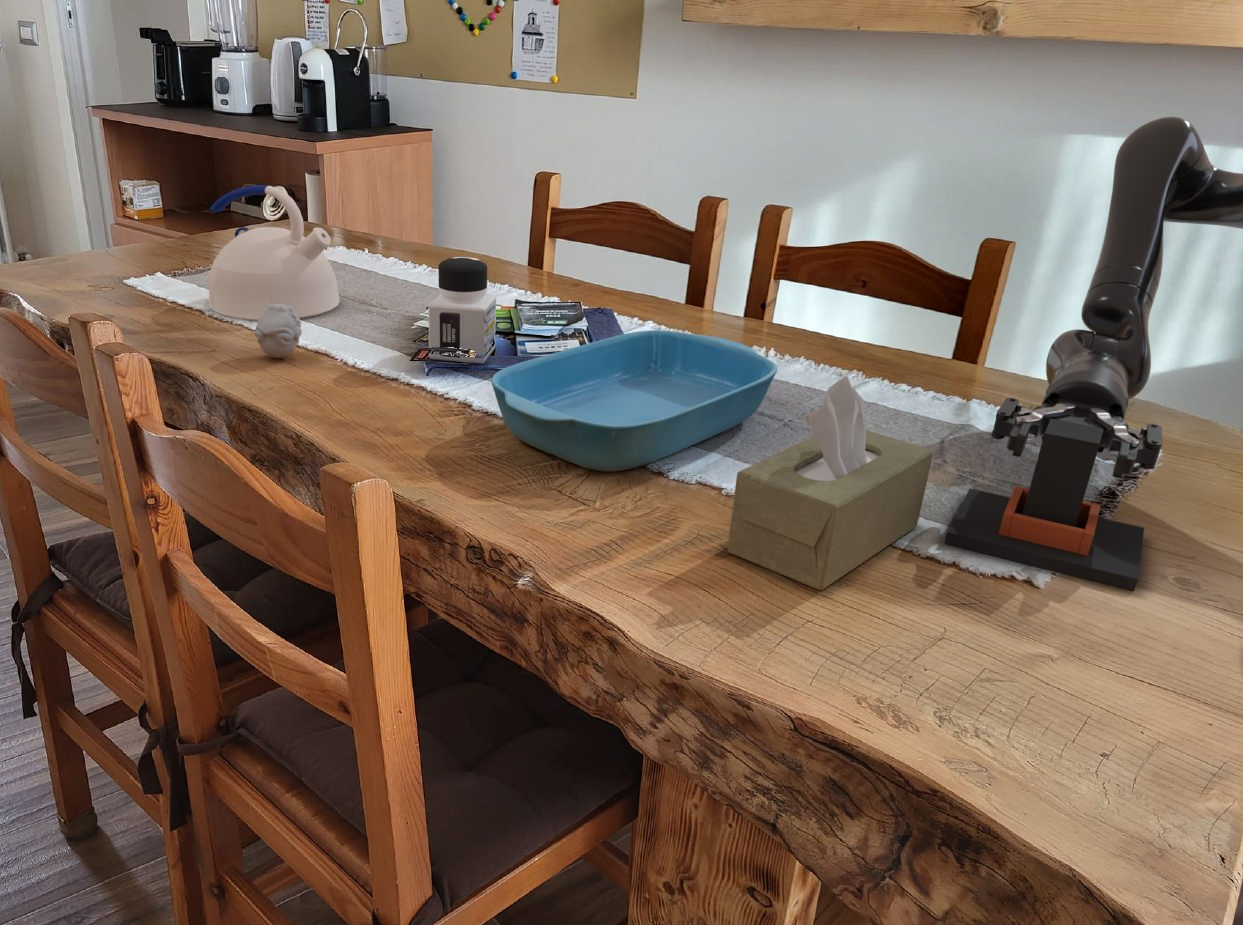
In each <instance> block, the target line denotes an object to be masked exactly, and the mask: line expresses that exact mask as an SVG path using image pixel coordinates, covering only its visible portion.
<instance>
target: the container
mask: <svg viewBox="0 0 1243 925" xmlns="http://www.w3.org/2000/svg"><path fill="white" fill-rule="evenodd" d="M437 267H438V271H437V272H438V293H439V294H438V295H437V297H435V298H434V299H433V300H432V301H431V302H430V303H429V304H428V309H427V310H428V349H429V348H432V347H454V348H457V349H459V348H462V349H471V350H473V351H475V352H477V353H478V354H482V355H484V354H486V353H487V352H488V351H489V349H490V348H491V346H492V344H493V340H494V335H495V336H496V334H495V333H497V332H496V309H497V296H496V295H495V294H490V293H489V294H488V264H486V262H485V261H482V260H480V259H479V258H475V257H469V256H455V257H449V258H446V259H444V260H441V261H440V263H439V264H438V266H437ZM495 349H496V343H495V344H494V346H493V347H492V348H491V350H490V351H489V352H488V353H487V355H486V356H485V357H484V358H474V357H463V356H451V355H440V354H430V353H429V352H428V358H429V359H430V360H435V361H436V360H437V361H446V362H457V363H468V364H480V365H484V363H485V362H486V361H487V359H488V358H489V357H490V355H491V354H492V353H493V351H495Z"/></svg>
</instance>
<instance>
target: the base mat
mask: <svg viewBox="0 0 1243 925" xmlns="http://www.w3.org/2000/svg"><path fill="white" fill-rule="evenodd" d="M1029 489H1030V488H1028V487H1023V486H1019V485H1015V486H1014V488H1013V491H1012V493H1011V495H1010V496H1005V495H1001V494H997V493H994V492H989V491H984V490H979V489H975V488H969V489H968V491H967V493H966V494H965V496H964V499H963V501H962V502H961V504H960V507H959V508H958V511H957V513H956V514H955V516H954V518H953V520H952V522H951V524H950V526H949V528H948V529H947V532H946V536H945V540H944V544H945V545H949V546H953V547H957V548H962V549H965V550H969V551H973V552H977V553H981V554H985V555H989V556H992V557H996V558H1000V559H1001V558H1002V559H1005V560H1009V561H1013V562H1017V563H1020V564H1025V565H1028V566H1033V567H1037V568H1041V569H1046V570H1049V571H1053V572H1056V573H1061V574H1065V575H1068V576H1073V577H1076V578H1077V577H1078V578H1081V579H1085V580H1088V581H1094V582H1096V583H1101V584H1104V585H1108V586H1109V585H1110V586H1113V587H1117V588H1120V589H1125V590H1128V591H1132V592H1134V591H1135V590H1136V587H1137V584H1138V582H1139V575H1140V569H1141V568H1140V567H1141V559H1142V551H1143V543H1144V534H1145V527H1143V526H1139V525H1134V524H1130V523H1126V522H1121V521H1117V520H1112V519H1108V518H1105V517H1103V518H1102V517H1099V514H1100V510H1101V504H1100V503H1096V502H1091V501H1086V500H1083V502H1082V505H1081V509H1080V512H1079V515H1078V519H1077V522H1076V526H1075V527H1072V526H1068V525H1064V524H1060V523H1055V522H1051V521H1047V520H1042V519H1038V518H1034V517H1029V516H1025V515H1022V514H1023V511H1024V507H1025V503H1026V500H1027V496H1028V492H1029Z"/></svg>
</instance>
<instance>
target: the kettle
mask: <svg viewBox="0 0 1243 925" xmlns="http://www.w3.org/2000/svg"><path fill="white" fill-rule="evenodd" d="M252 195H269V196H271V197H274V198H275V199H276V200H277V201H278V202H280V203H281V204H282V206H283V207H284V208H285V210H286V213H287V214H288V217H289V218H288V219H289V221H290V229H287V228H283V227H277V226H261V227H255V228H253V229H249V228H247V227H245V226H242V227H238V228H237V229H236V230H235V232H234V238H233V239H232V240H230V241H229V242H228V243H227V244H225V245H224V246H223V247H222V248H221V250H220V251H219V252H218V254H217V256H216V257H215V259H214V260H213V262H212V265H211V269H210V272H209V275H208V308H210V309H211V310H212V311H213V312H214V313H216V314H218V315H221V316H224V317H227V318H233V319H237V320H245V321H254V322H258V319H259V318H260V317H261V316H262V315H263V313H264V312H265V311H266V310H267V306H268V305H272V304H284V305H286V306H292V307H293V309H294V312H295V313H296V314H297V316H298V317H299V319H300V320H302V319H307V318H312V317H317V316H321V315H325V314H327V313H329V312H331V311H333V310H334V309H336V308H337V307H338V306H339V304H340V302H341V300H340V297H339V296H340V294H339V289H338V288H339V287H338V280H337V276H336V273H335V271H334V270H333V267H332V265H331V263H330V261H329V259H328V257H327V256H326V254H324V251H325V249H326V248H329V247H330V246H331V243H332V239H331V236H330V235H329V233H328V232H327V231H326V230H325V229H324V228H323V227H314V228H313V229H312V231H311V232H310V233H309V234H308V235H307V236H304V232H305V228H304V227H305V226H304V219H303V216H302V213H301V210H300V207H299V206H298V205H297V203H296V201H294V199H293V197H291V196H290V195H289V194H287V193H286V191H284V190H282V189H280V188H277V187H274V186H272V185H270V184H269V185H268V184H267V185H265V184H263V185H261V184H260V185H259V184H258V185H257V184H256V185H249V186H244V187H243V186H242V187H240V188H237V189H234V190H231V191H229V192H228V193H226V194H224V195H222V196H220V198H218V199H217V200H216V201H215V202H214V203H213V204H212V205H211V207H209V209H210V211H211V212H214V213H221V212H222V211H224V210H225V208H226V207H227V206H228V205H229V204H231V203H233V202H234V201H236V200H238V199H242V198H244V197H248V196H252ZM241 231H244V232H242V233H240V232H241Z"/></svg>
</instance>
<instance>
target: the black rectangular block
mask: <svg viewBox="0 0 1243 925" xmlns="http://www.w3.org/2000/svg"><path fill="white" fill-rule="evenodd" d="M1103 430H1104V429H1102V428H1097V427H1092V426H1087V425H1082V424H1076V423H1071V422H1066V421H1061V420H1056V419H1050V421H1049V424H1048V426H1047V429H1046V431H1045V433H1044V437H1043V441H1042V445H1041V447H1039V452H1038V456H1037V458H1036V459H1037V460H1036V462H1035V466H1034V470H1033V474H1032V477H1031V481H1030V484H1029V488H1028V489H1029V492H1028V496H1027V500H1026V503H1025V507H1024V511H1023V514H1022V515H1025V516H1029V517H1034V518H1038V519H1042V520H1047V521H1051V522H1055V523H1060V524H1064V525H1068V526H1072V527H1075V526H1076V522H1077V519H1078V515H1079V512H1080V509H1081V505H1082V502H1083V501H1084V499H1085V495H1086V492H1087V489H1088V485H1089V483H1090V482H1089V481H1090V478H1091V475H1092V471H1093V469H1094V466H1095V461H1096V458H1097V456H1096V455H1097V452H1098V449H1099V445H1100V442H1101V438H1102V434H1103Z"/></svg>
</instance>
